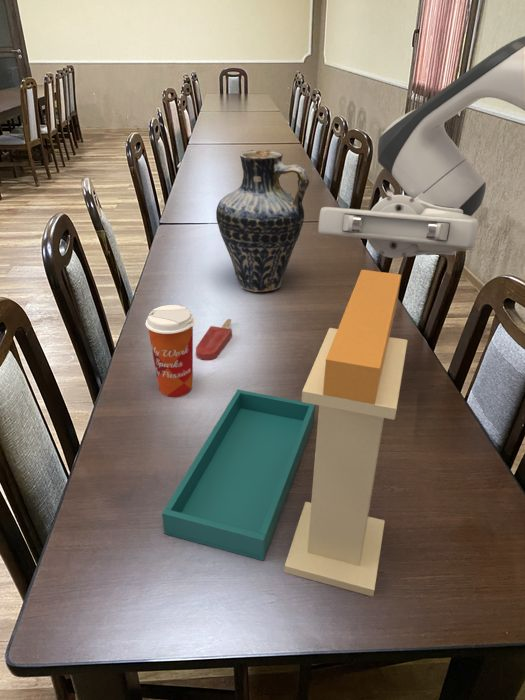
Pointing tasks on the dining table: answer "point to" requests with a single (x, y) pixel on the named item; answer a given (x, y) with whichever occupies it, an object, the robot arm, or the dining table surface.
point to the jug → (262, 220)
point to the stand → (345, 480)
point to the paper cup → (172, 348)
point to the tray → (242, 475)
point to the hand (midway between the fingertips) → (393, 227)
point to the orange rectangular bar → (362, 338)
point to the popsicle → (214, 341)
